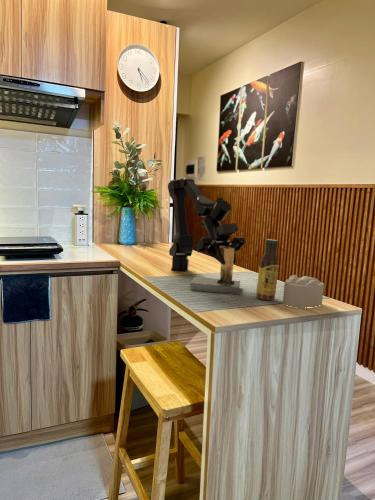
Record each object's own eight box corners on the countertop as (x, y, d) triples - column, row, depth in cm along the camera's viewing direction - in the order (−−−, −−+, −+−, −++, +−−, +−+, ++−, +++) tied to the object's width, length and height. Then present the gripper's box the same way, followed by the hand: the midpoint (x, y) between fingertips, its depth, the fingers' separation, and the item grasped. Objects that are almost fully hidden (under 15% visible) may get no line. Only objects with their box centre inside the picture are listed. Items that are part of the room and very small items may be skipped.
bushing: (217, 281, 132) (220, 247, 130) (222, 278, 136) (224, 246, 134) (229, 283, 130) (231, 249, 128) (233, 280, 134) (236, 248, 132)
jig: (190, 289, 130) (190, 282, 129) (194, 283, 139) (194, 276, 139) (238, 294, 127) (239, 287, 127) (239, 287, 137) (240, 281, 136)
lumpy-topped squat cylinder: (326, 305, 120) (329, 279, 119) (300, 310, 113) (303, 283, 111) (300, 297, 128) (302, 272, 127) (274, 301, 121) (276, 275, 120)
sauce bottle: (263, 301, 120) (269, 241, 117) (252, 296, 125) (257, 238, 122) (279, 300, 123) (285, 240, 120) (267, 295, 128) (272, 238, 125)
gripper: (202, 214, 128) (217, 251, 120) (244, 215, 137) (261, 249, 129) (189, 234, 136) (203, 269, 128) (230, 234, 145) (245, 267, 137)
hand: (229, 263), depth 131 cm, fingers closed on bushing, 4 cm apart
